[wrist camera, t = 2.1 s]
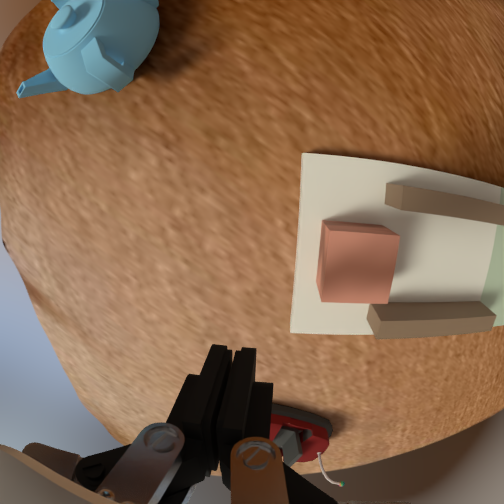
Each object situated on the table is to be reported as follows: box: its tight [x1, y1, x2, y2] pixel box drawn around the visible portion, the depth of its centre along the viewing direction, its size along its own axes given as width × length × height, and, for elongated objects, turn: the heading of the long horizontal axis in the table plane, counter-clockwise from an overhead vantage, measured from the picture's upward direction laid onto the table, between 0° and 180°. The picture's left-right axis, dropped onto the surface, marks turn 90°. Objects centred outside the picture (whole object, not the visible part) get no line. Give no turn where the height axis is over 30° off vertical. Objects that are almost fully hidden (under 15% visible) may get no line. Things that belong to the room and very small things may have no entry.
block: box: [316, 220, 400, 304], centre depth 23 cm, size 6×6×4 cm
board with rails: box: [290, 153, 504, 339], centre depth 24 cm, size 18×32×6 cm, turn 88°
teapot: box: [17, 0, 160, 98], centre depth 18 cm, size 15×15×11 cm
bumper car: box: [269, 403, 345, 487], centre depth 31 cm, size 10×20×10 cm, turn 71°
